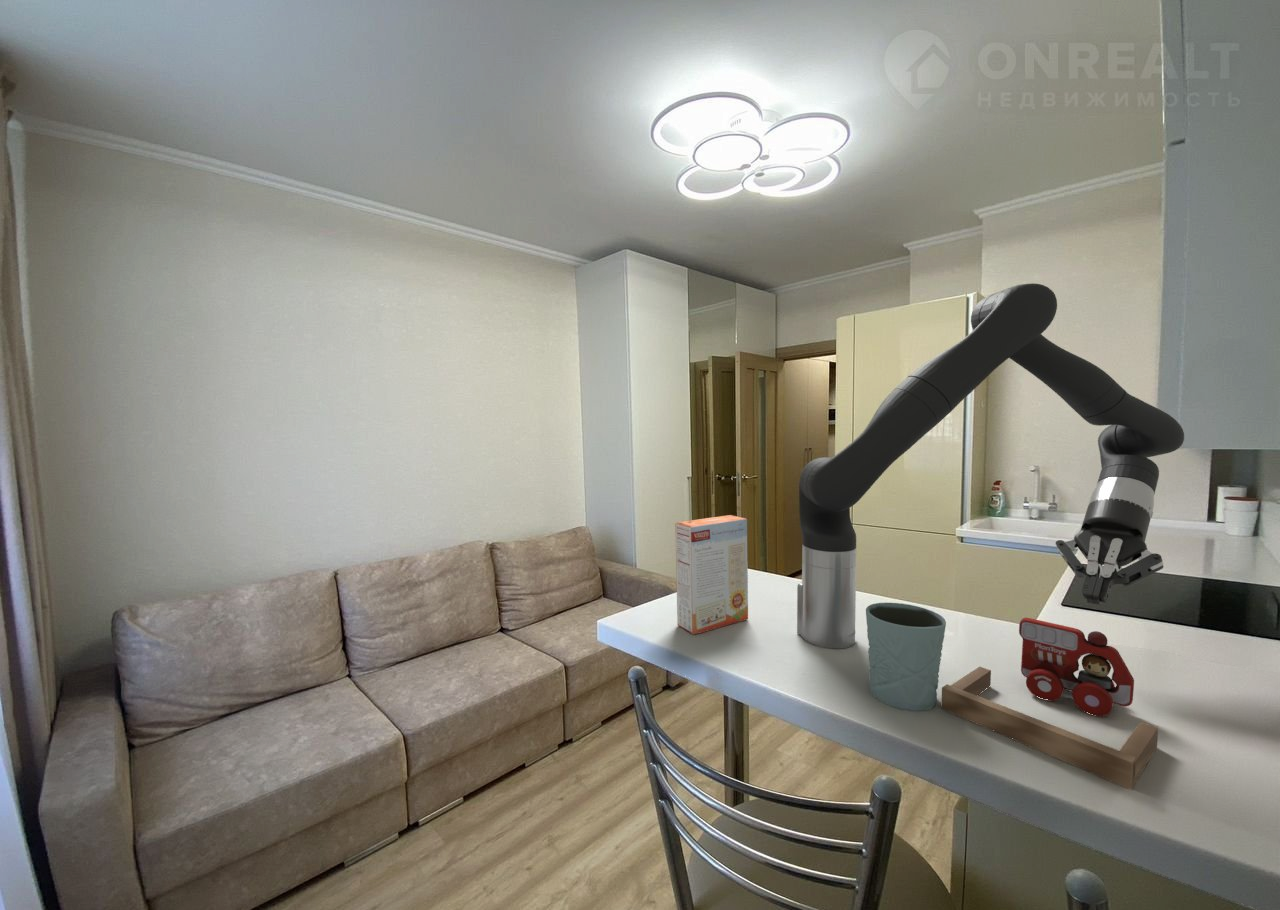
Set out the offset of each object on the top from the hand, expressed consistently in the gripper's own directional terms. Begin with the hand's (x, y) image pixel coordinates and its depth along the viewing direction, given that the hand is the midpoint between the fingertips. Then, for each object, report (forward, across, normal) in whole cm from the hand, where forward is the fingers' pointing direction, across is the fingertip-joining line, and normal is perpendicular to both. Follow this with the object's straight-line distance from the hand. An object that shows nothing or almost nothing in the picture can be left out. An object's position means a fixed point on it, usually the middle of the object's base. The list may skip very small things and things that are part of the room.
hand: (1093, 601), depth 75 cm
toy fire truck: (+15, 0, +3) cm, 15 cm away
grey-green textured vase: (+28, -15, -10) cm, 33 cm away
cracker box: (+30, -51, -13) cm, 60 cm away
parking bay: (+23, 0, -6) cm, 23 cm away
